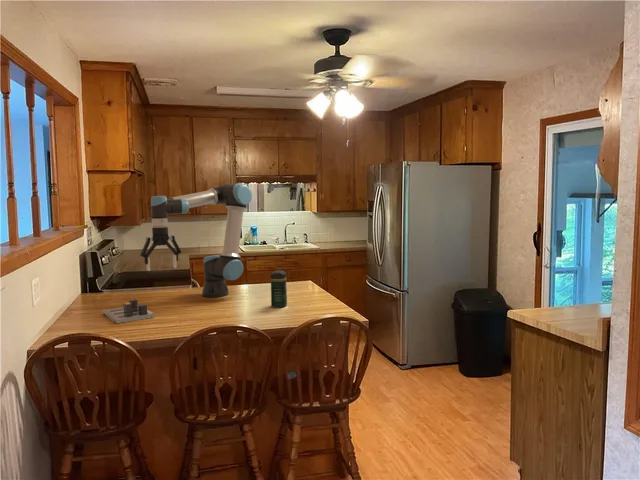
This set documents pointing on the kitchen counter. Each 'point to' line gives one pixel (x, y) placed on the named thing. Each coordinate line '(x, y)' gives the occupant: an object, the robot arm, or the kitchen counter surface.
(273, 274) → the coffee jar
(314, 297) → the kitchen counter surface
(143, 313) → the breaker panel
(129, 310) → the block
